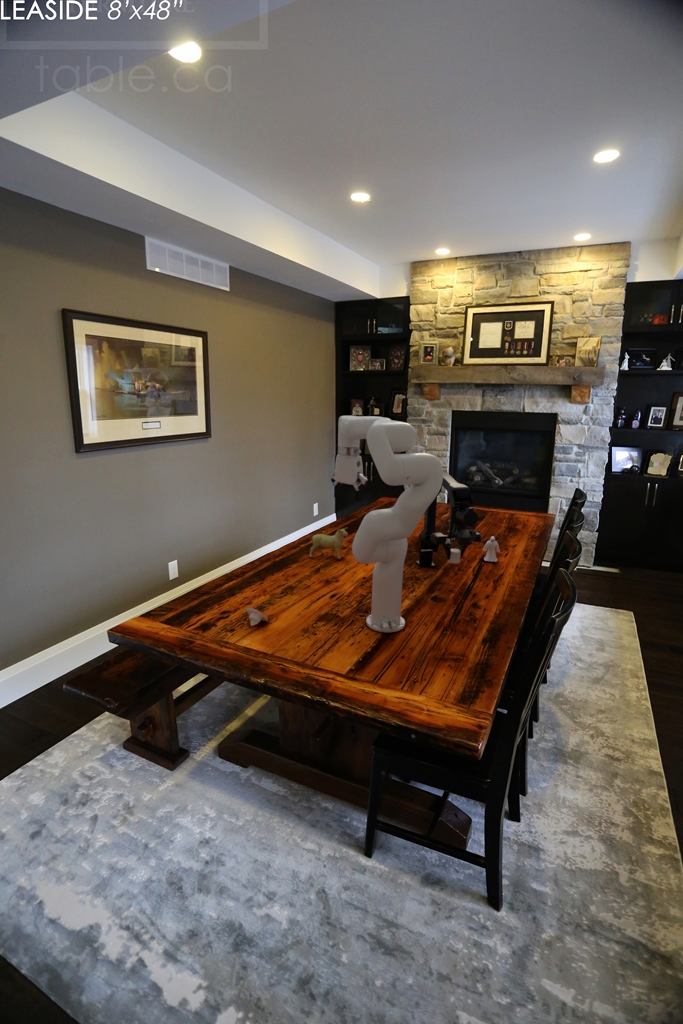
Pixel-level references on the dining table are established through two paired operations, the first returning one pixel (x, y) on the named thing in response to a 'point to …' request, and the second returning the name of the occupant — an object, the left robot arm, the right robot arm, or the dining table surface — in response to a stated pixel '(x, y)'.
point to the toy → (329, 542)
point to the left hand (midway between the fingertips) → (347, 499)
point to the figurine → (491, 550)
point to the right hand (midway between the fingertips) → (454, 558)
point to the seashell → (255, 616)
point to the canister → (455, 556)
